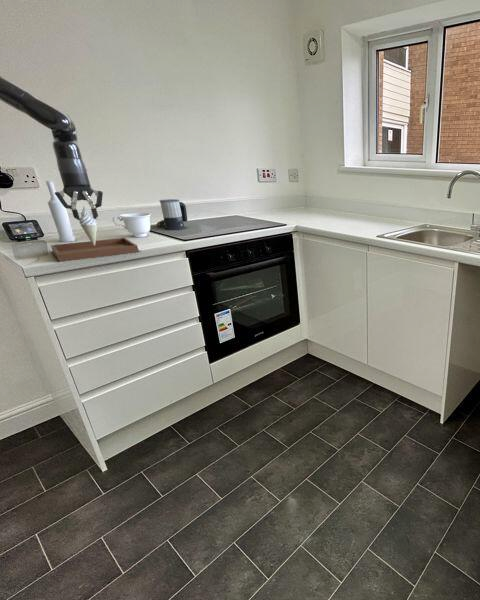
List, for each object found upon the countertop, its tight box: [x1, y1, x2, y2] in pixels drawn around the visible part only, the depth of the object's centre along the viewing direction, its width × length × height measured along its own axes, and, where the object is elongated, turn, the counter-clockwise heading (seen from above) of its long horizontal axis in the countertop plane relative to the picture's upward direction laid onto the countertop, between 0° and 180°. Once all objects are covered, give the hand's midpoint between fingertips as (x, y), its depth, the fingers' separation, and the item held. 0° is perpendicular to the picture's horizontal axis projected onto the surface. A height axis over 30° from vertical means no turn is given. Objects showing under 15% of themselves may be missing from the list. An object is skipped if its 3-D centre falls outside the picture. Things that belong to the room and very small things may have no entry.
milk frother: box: [156, 198, 188, 231], centre depth 188 cm, size 14×16×15 cm
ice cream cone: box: [78, 206, 98, 245], centre depth 135 cm, size 5×5×15 cm
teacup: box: [112, 212, 152, 238], centre depth 165 cm, size 12×15×10 cm
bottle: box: [45, 180, 76, 243], centre depth 150 cm, size 5×5×25 cm
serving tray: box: [50, 237, 140, 262], centre depth 138 cm, size 24×20×3 cm
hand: (86, 218), depth 134 cm, fingers closed on ice cream cone, 4 cm apart
